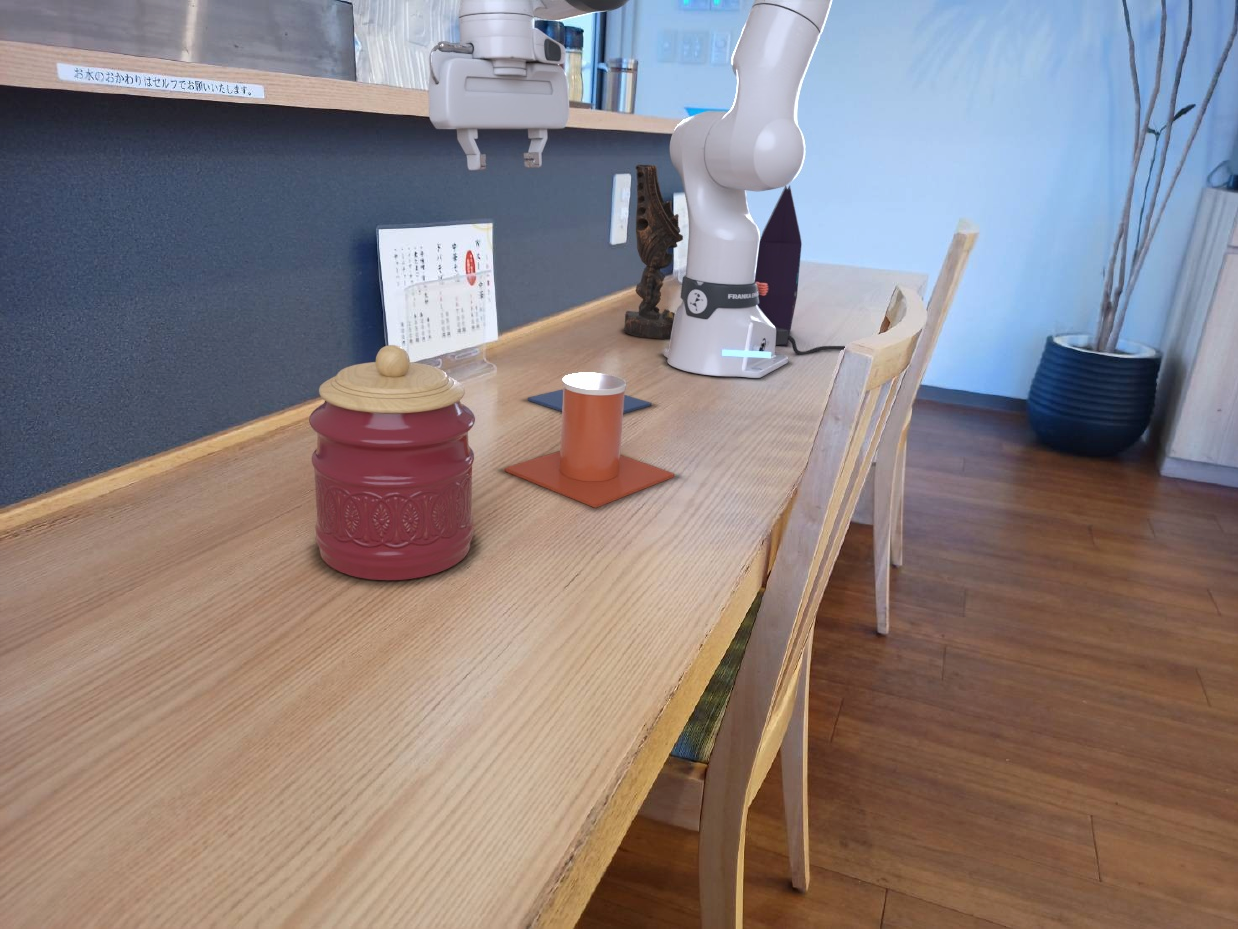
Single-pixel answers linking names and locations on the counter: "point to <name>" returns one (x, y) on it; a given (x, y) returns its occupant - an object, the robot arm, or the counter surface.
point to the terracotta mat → (590, 493)
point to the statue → (652, 255)
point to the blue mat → (556, 401)
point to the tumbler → (591, 426)
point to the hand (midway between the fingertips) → (506, 168)
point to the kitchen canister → (393, 469)
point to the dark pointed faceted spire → (780, 263)
